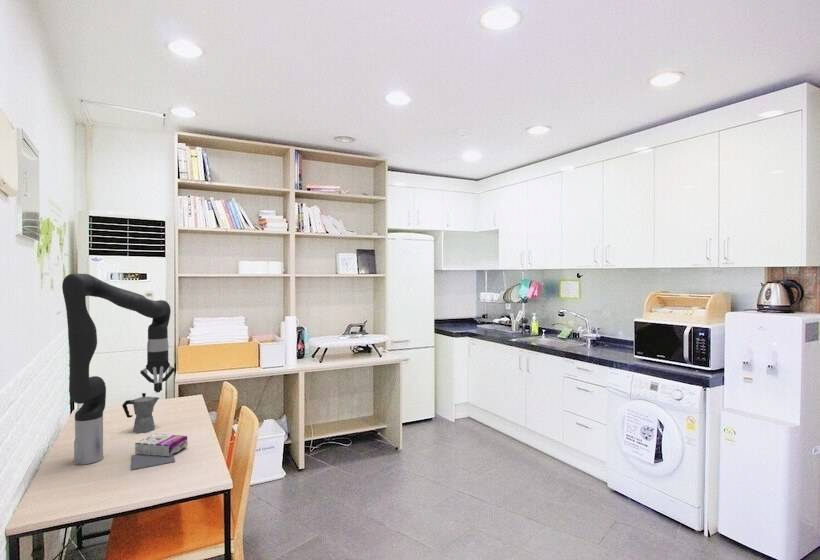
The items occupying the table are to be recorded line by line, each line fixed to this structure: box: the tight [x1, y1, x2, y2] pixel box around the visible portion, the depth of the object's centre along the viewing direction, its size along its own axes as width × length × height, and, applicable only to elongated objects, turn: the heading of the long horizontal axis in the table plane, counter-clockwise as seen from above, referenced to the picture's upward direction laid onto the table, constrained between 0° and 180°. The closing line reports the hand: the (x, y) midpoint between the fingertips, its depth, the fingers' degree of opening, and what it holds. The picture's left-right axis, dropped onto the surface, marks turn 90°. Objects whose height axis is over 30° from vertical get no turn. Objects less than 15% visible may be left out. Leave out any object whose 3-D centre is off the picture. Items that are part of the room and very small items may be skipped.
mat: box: [130, 454, 176, 471], centre depth 182 cm, size 15×16×1 cm
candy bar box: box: [134, 433, 188, 457], centre depth 190 cm, size 11×5×16 cm
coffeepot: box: [122, 392, 160, 434], centre depth 216 cm, size 15×9×18 cm, turn 129°
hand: (158, 392), depth 183 cm, fingers closed
